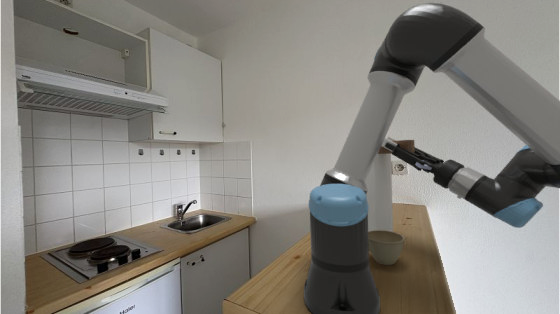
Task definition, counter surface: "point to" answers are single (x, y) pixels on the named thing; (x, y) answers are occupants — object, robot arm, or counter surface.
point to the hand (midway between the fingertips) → (383, 139)
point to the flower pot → (385, 246)
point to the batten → (403, 143)
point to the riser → (380, 194)
